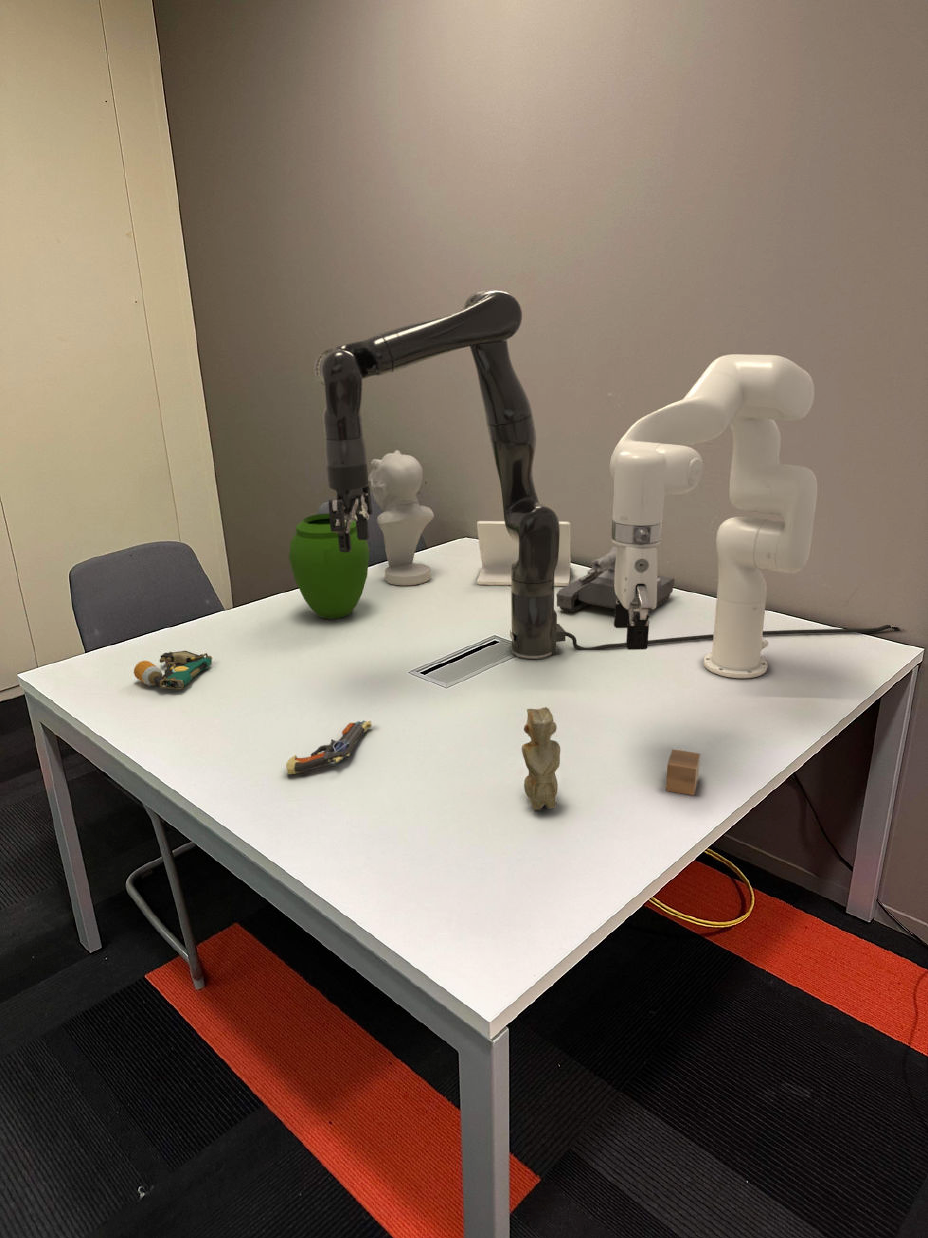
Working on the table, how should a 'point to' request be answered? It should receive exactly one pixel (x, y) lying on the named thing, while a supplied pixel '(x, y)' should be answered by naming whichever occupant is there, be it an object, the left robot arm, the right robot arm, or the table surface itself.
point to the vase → (328, 567)
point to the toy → (603, 587)
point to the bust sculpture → (400, 515)
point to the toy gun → (330, 749)
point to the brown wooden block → (682, 772)
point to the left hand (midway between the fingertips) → (354, 545)
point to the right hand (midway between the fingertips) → (630, 637)
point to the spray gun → (172, 669)
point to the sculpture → (541, 759)
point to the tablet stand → (514, 554)
